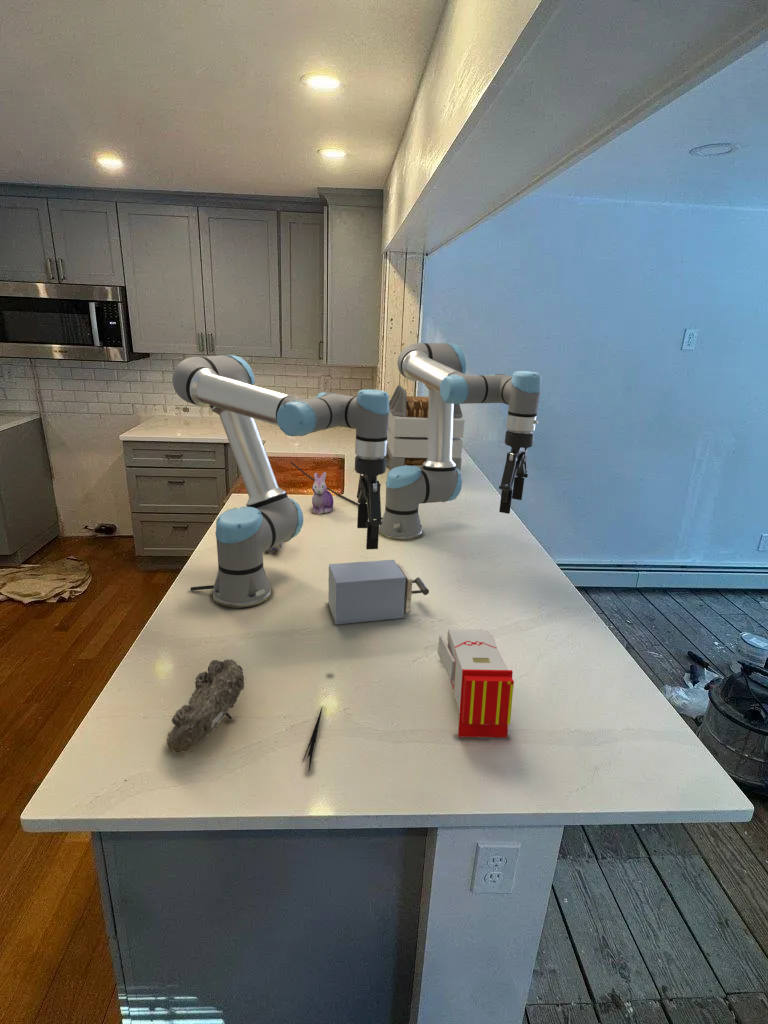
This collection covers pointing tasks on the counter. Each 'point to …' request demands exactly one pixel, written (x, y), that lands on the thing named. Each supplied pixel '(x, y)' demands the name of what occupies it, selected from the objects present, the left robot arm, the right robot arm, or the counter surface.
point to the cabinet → (366, 591)
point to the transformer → (415, 431)
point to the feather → (313, 740)
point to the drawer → (409, 588)
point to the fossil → (206, 705)
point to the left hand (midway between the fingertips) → (367, 537)
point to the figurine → (321, 495)
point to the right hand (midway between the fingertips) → (510, 505)
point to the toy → (478, 682)
